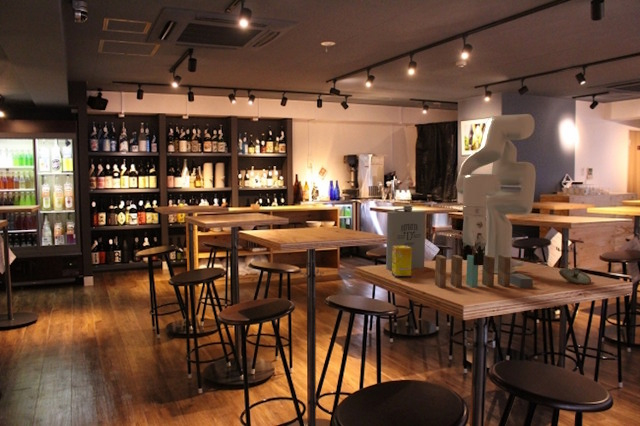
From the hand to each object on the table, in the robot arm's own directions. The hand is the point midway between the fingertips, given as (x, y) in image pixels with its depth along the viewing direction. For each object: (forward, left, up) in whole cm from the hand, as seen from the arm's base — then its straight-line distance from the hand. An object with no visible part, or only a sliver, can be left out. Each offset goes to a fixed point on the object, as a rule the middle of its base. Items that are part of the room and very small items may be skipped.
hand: (472, 262), depth 177 cm
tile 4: (-5, 0, -8) cm, 10 cm away
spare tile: (0, 0, -8) cm, 8 cm away
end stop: (-17, 0, -8) cm, 19 cm away
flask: (+14, -33, -8) cm, 37 cm away
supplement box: (+20, -17, -8) cm, 27 cm away
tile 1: (+11, 0, -8) cm, 13 cm away
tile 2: (+6, 0, -8) cm, 10 cm away
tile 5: (-11, 0, -8) cm, 13 cm away
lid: (-39, -4, -8) cm, 40 cm away
